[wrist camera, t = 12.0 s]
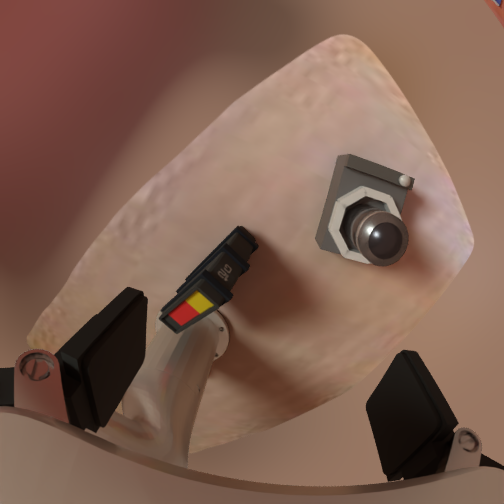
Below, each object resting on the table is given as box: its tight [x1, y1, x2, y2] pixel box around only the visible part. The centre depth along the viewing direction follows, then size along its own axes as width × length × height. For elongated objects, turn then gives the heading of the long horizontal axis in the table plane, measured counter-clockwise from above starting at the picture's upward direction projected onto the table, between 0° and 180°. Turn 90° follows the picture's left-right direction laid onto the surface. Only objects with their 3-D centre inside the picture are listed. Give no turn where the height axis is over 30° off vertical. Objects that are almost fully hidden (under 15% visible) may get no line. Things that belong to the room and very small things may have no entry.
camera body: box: [315, 154, 415, 264], centre depth 33 cm, size 12×9×7 cm
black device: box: [159, 226, 258, 334], centre depth 35 cm, size 4×13×15 cm, turn 135°
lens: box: [343, 204, 408, 266], centre depth 28 cm, size 5×5×8 cm
